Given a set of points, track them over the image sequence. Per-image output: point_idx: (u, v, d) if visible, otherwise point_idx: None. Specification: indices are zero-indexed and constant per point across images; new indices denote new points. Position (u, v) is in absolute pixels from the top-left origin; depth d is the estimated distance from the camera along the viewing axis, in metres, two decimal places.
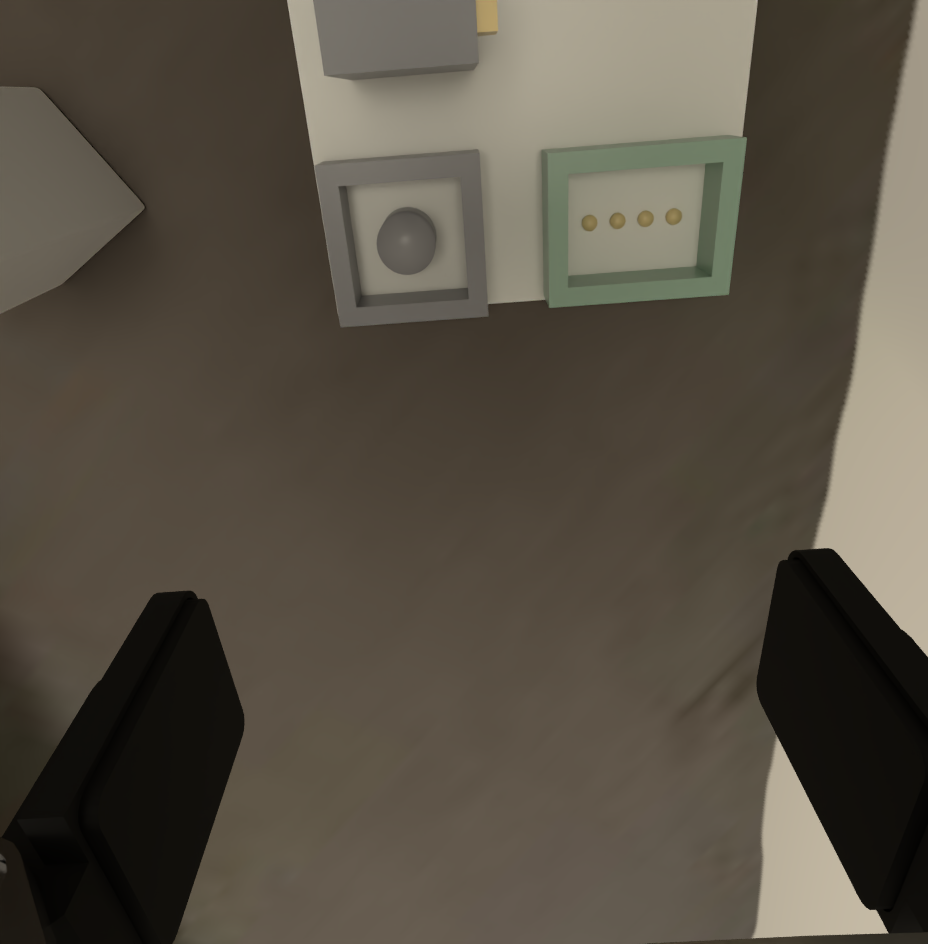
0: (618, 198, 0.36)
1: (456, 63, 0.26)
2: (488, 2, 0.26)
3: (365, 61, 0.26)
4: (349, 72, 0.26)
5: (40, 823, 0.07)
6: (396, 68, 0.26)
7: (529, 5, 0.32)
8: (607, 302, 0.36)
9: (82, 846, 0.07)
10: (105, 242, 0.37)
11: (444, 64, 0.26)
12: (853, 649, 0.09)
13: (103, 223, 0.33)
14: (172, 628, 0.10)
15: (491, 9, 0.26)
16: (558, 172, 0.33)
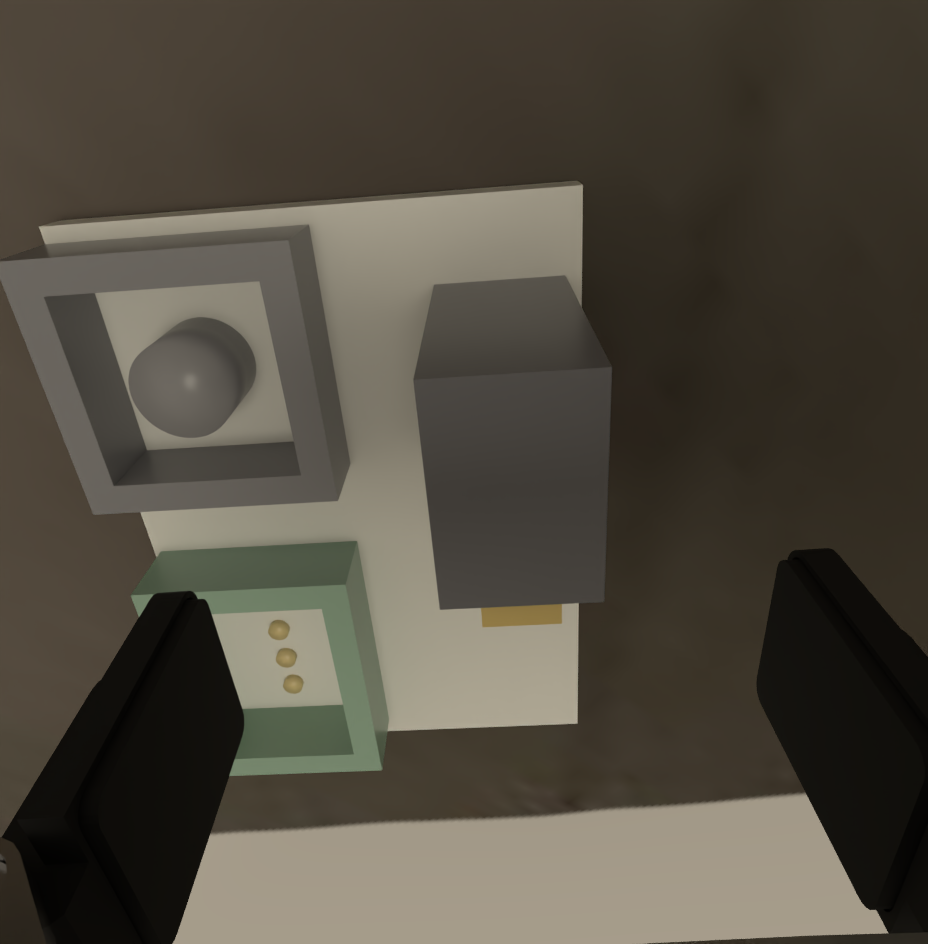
0: (307, 627, 0.28)
1: (438, 582, 0.16)
2: (518, 614, 0.17)
3: (438, 451, 0.15)
4: (419, 424, 0.14)
5: (40, 823, 0.07)
6: (428, 498, 0.15)
7: None
8: None
9: (82, 846, 0.07)
10: None
11: (436, 566, 0.16)
12: (853, 649, 0.09)
13: None
14: (172, 628, 0.10)
15: (509, 619, 0.17)
16: (322, 597, 0.23)
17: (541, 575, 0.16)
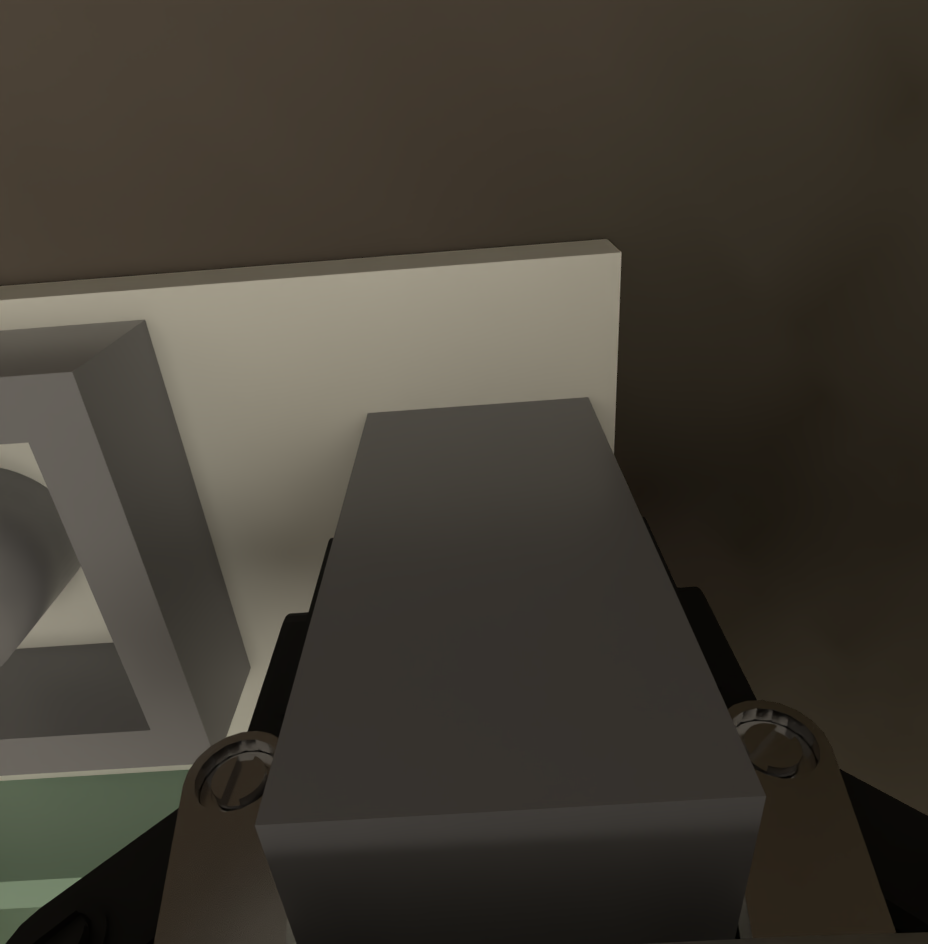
0: None
1: None
2: None
3: (333, 937, 0.06)
4: (283, 900, 0.06)
5: None
6: None
7: None
8: None
9: None
10: None
11: None
12: None
13: None
14: None
15: None
16: None
17: None
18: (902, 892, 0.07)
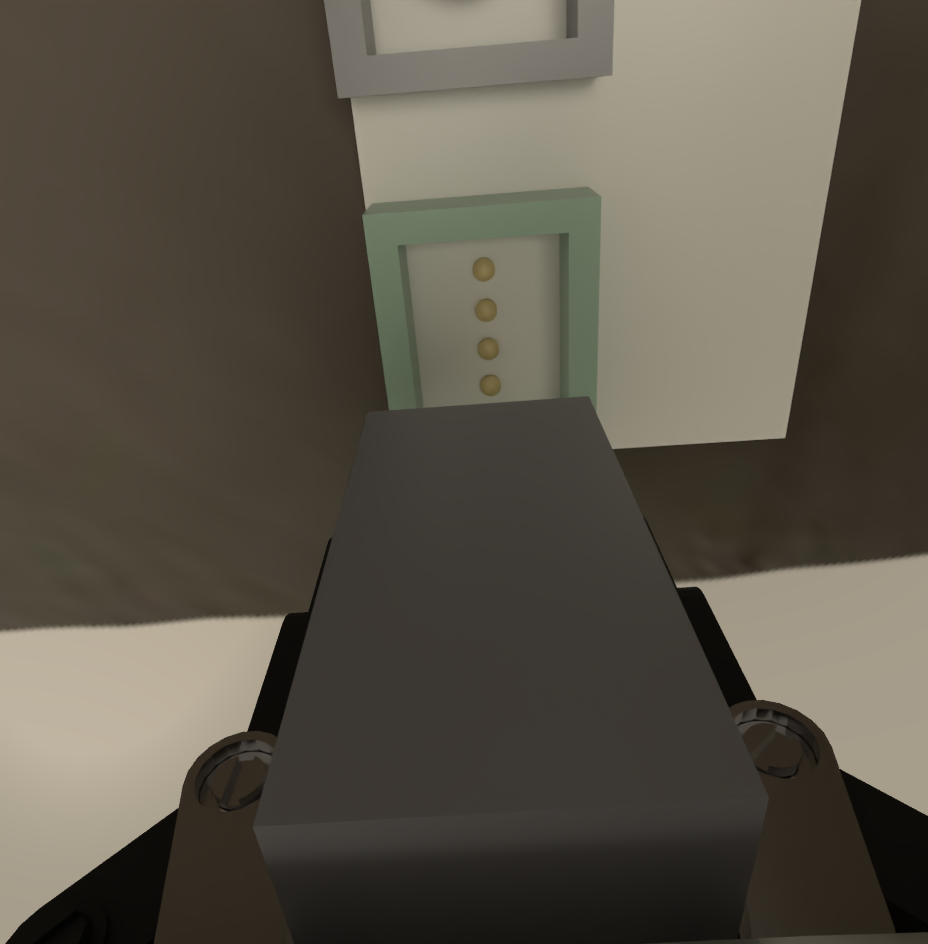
0: (515, 308, 0.26)
1: None
2: None
3: (332, 939, 0.06)
4: (281, 903, 0.06)
5: None
6: None
7: (772, 157, 0.23)
8: (377, 312, 0.23)
9: None
10: None
11: None
12: None
13: None
14: None
15: None
16: (572, 216, 0.21)
17: None
18: (902, 892, 0.07)
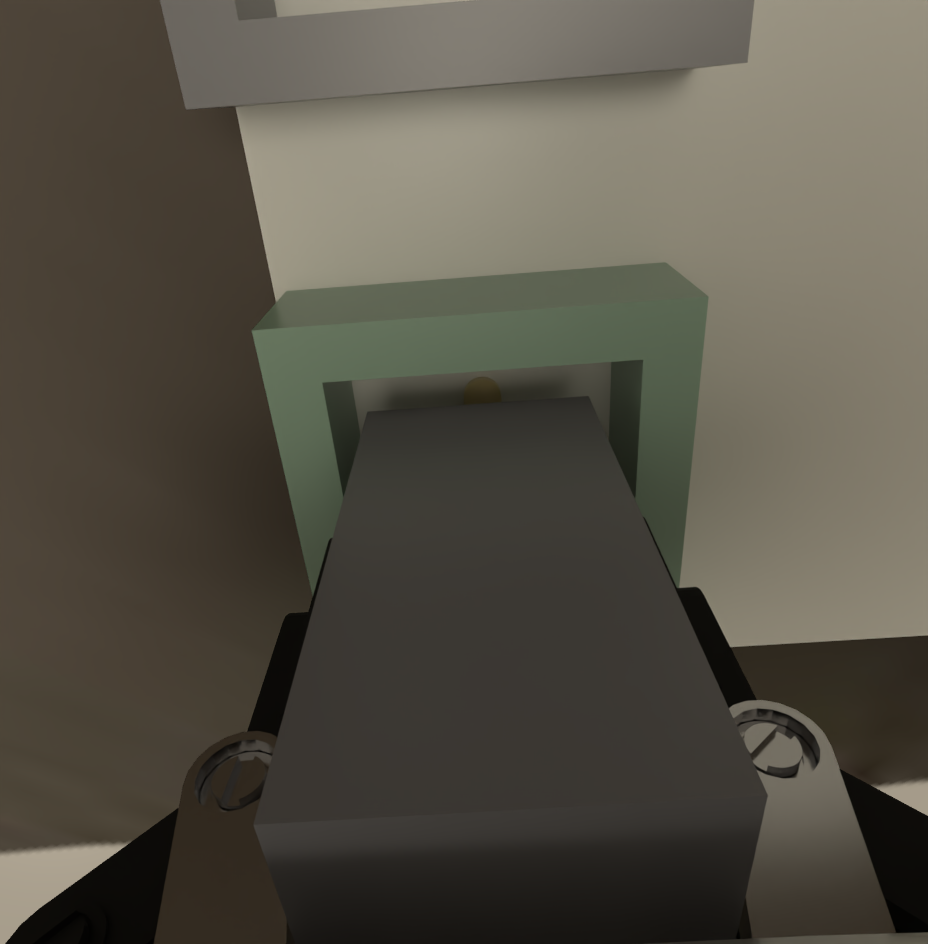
0: None
1: None
2: None
3: (332, 937, 0.06)
4: (282, 900, 0.06)
5: None
6: None
7: None
8: (291, 491, 0.13)
9: None
10: None
11: None
12: None
13: None
14: None
15: None
16: (651, 331, 0.11)
17: None
18: (902, 892, 0.07)
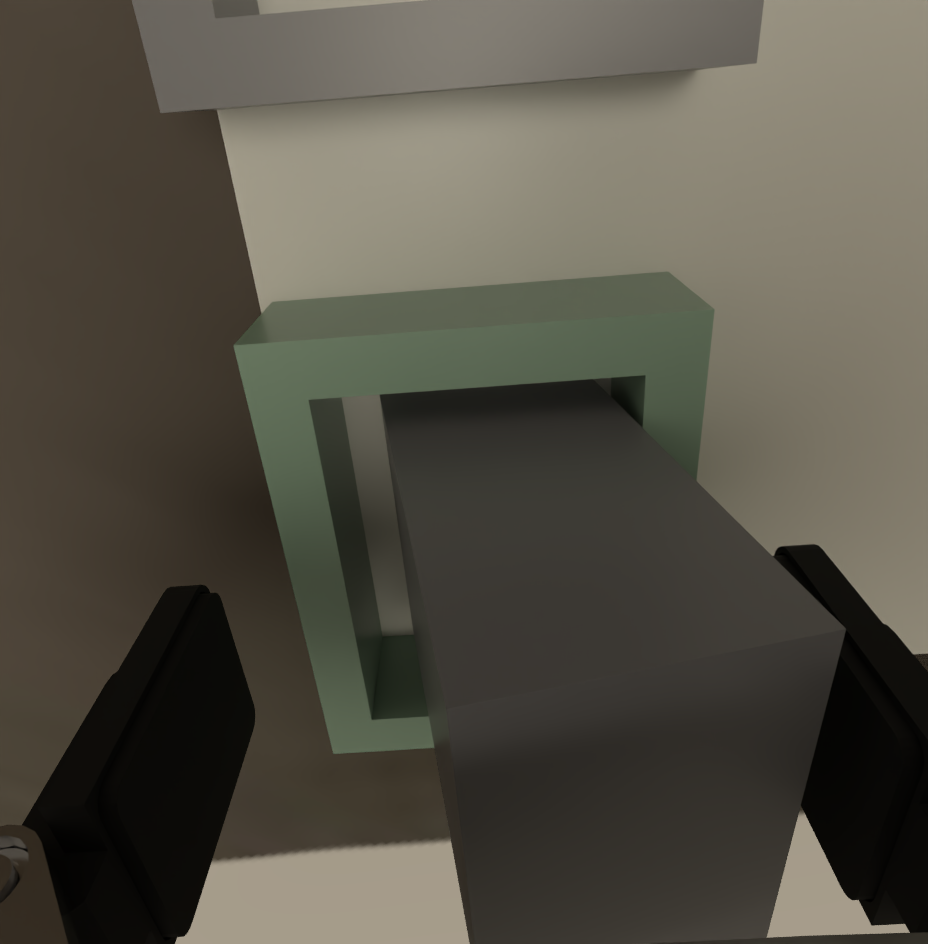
0: None
1: None
2: None
3: (493, 815, 0.07)
4: (458, 782, 0.07)
5: (61, 811, 0.07)
6: (471, 885, 0.08)
7: None
8: (277, 512, 0.12)
9: (102, 834, 0.08)
10: None
11: None
12: None
13: None
14: (186, 621, 0.10)
15: None
16: (654, 346, 0.11)
17: None
18: None
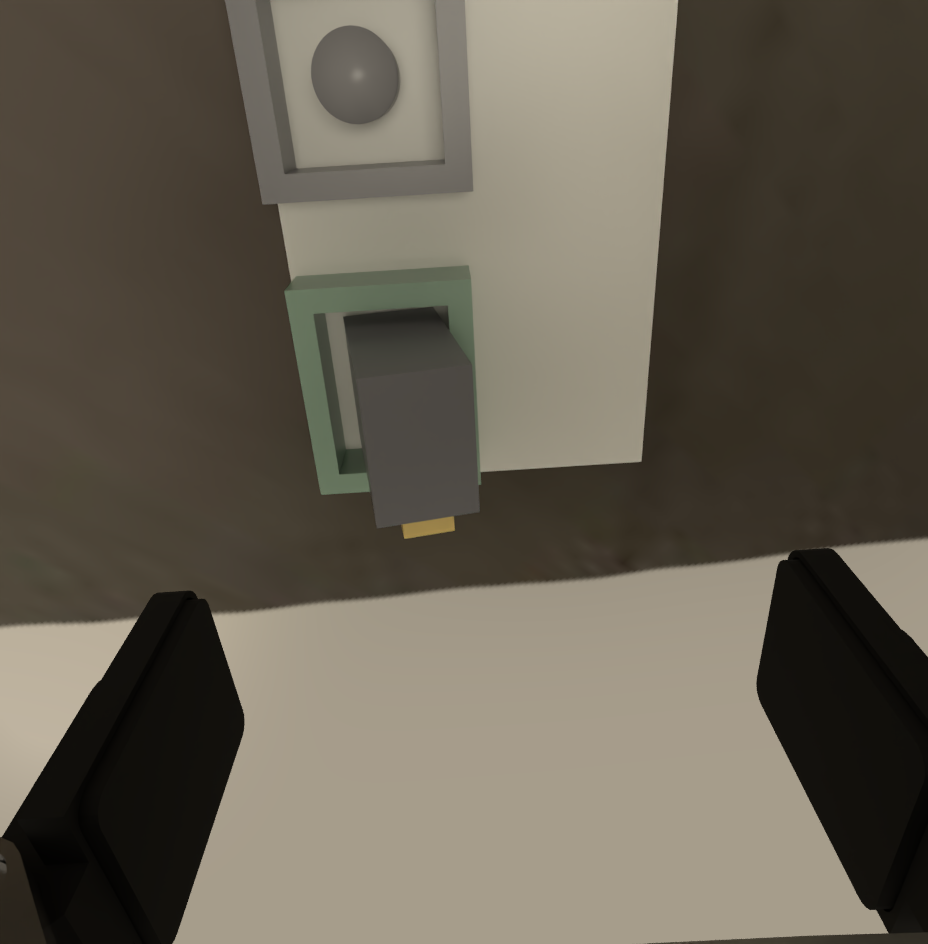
0: None
1: (375, 509, 0.25)
2: (426, 527, 0.26)
3: (372, 422, 0.24)
4: (360, 406, 0.23)
5: (40, 823, 0.07)
6: (367, 453, 0.24)
7: (610, 245, 0.29)
8: (299, 364, 0.29)
9: (82, 846, 0.07)
10: None
11: (373, 498, 0.25)
12: (853, 649, 0.09)
13: None
14: (172, 628, 0.10)
15: (421, 531, 0.26)
16: (449, 293, 0.28)
17: (440, 497, 0.26)
18: None
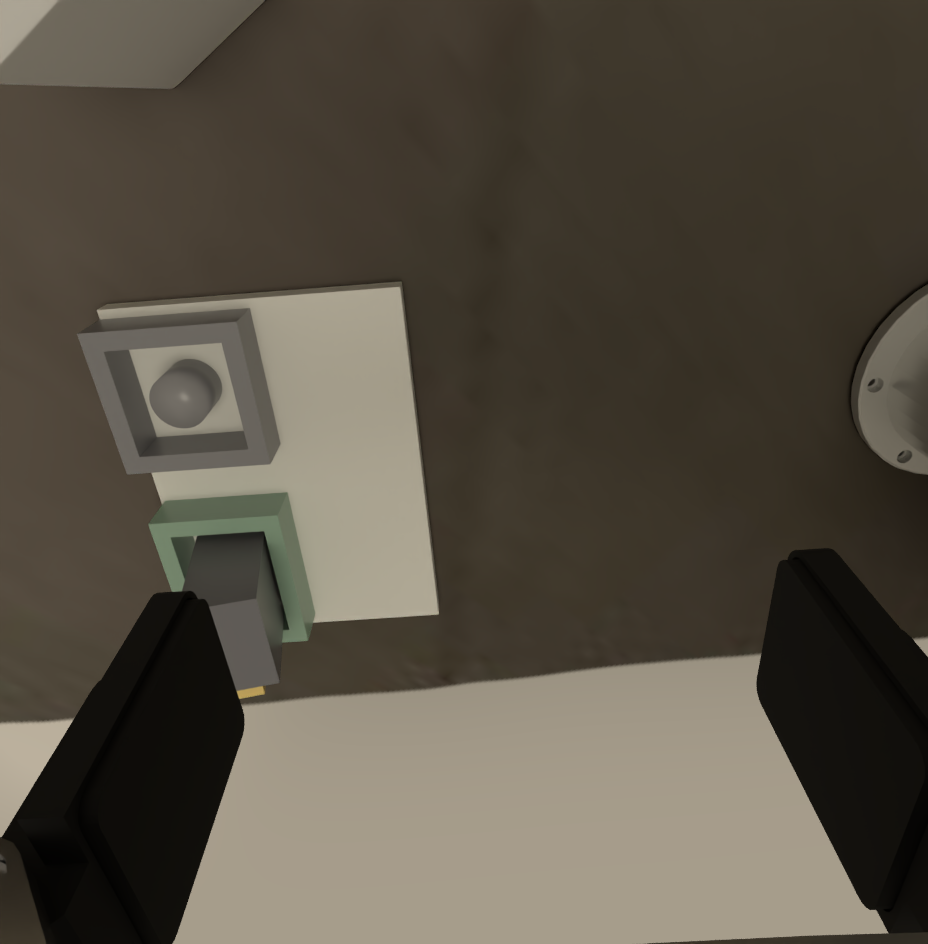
0: None
1: None
2: (244, 693, 0.38)
3: None
4: None
5: (40, 823, 0.07)
6: None
7: (388, 478, 0.41)
8: (164, 567, 0.41)
9: (82, 846, 0.07)
10: None
11: None
12: (853, 649, 0.09)
13: (125, 87, 0.27)
14: (172, 628, 0.10)
15: (240, 695, 0.38)
16: (264, 524, 0.39)
17: (248, 676, 0.37)
18: None
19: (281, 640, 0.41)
